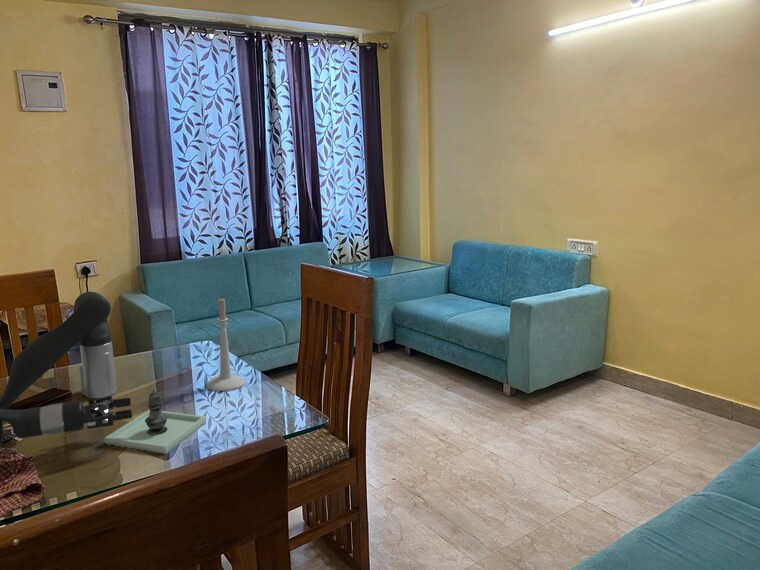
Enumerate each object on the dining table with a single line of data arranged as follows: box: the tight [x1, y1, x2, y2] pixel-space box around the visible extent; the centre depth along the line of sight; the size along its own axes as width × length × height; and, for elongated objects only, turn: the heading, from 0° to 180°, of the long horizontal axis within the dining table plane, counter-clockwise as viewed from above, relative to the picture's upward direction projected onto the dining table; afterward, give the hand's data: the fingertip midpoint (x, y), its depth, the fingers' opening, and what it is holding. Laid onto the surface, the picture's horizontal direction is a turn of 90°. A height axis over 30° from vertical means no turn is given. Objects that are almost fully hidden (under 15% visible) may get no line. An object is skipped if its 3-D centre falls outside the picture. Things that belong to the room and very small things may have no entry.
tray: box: [104, 409, 207, 455], centre depth 157 cm, size 19×19×2 cm
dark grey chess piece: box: [145, 389, 168, 435], centre depth 156 cm, size 6×6×12 cm
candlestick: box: [206, 297, 247, 392], centre depth 190 cm, size 13×13×30 cm
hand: (131, 407), depth 153 cm, fingers open, 8 cm apart
